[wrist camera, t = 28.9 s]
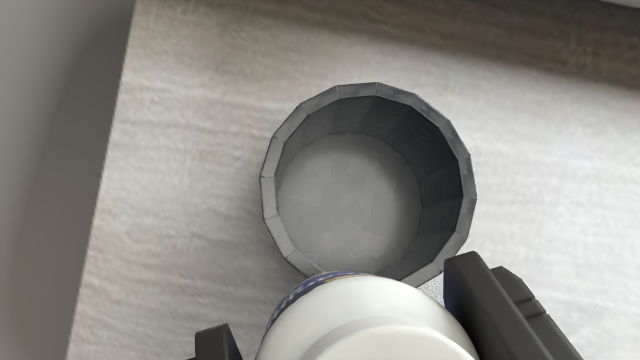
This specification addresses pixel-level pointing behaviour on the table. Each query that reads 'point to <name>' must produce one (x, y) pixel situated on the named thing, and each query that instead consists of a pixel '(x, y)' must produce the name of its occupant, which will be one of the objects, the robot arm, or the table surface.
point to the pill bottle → (362, 322)
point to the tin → (368, 185)
